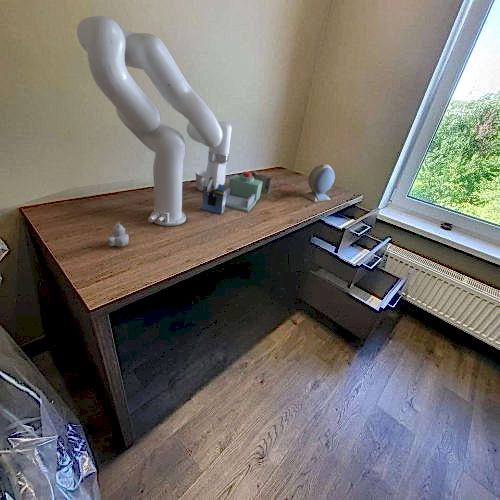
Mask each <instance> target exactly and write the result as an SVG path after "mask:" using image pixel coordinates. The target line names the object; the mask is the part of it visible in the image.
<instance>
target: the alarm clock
mask: <svg viewBox="0 0 500 500" xmlns="http://www.w3.org/2000/svg"><path fill="white" fill-rule="evenodd" d="M335 176H336V174H335V171H334V169H333V168H332V167H331V165H329V164H327V163H321V164H320V165H317V166H315V167H313V169H312V170H311V171H310V173H309V176H308V179H307V183H308V186H309V188H310V190H311V191H309V192H306V193H303V194H302V196H303V197H305V198H307V199H310V200H311V201H312V202H315V203H317V202H324V201H325V202H326V201H331V200H332V199H331V198H330V197H329V196H328V195H327V194H326V193H327V192H328V191H329V190H330V189H331V188H332V187H333V184H334V182H335V178H336V177H335Z"/></svg>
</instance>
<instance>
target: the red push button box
mask: <svg viewBox="0 0 500 500" xmlns="http://www.w3.org/2000/svg"><path fill="white" fill-rule="evenodd" d="M262 183H263V181H260V180H255V179H254V177H253V176H252V175H251V178H247V177H243V173H241V174H234V175H233V176H231V177H230V178H229V179H228V188H231V190H230V195H234V196H238V197H242V198H246V199H248V198H249V197H250V196H251V195H252V194H255V198H254V201H256V202H257V201H258V200H259V199H260V198H261V195H262V194H261V193H262V192H261V188H262Z"/></svg>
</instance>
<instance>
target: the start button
mask: <svg viewBox="0 0 500 500" xmlns="http://www.w3.org/2000/svg"><path fill="white" fill-rule="evenodd" d="M242 174H243V177H247V178H251V174H252V172H250V171H243V173H242Z"/></svg>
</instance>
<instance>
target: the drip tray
mask: <svg viewBox="0 0 500 500" xmlns="http://www.w3.org/2000/svg"><path fill="white" fill-rule="evenodd" d="M230 190H231V188H229V187H228V188H226V189H225V190H224V192H226V201H225V208H230V209H234V210H238V211H242V212H245V213H249V212H250V211H251V209H252V208H254V206H255V205H256V204H257V201H254V198H255V194H252V195H251V196H250V197H249V198H248V199H246V198H242V197H238V196H234V195H230Z"/></svg>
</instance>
